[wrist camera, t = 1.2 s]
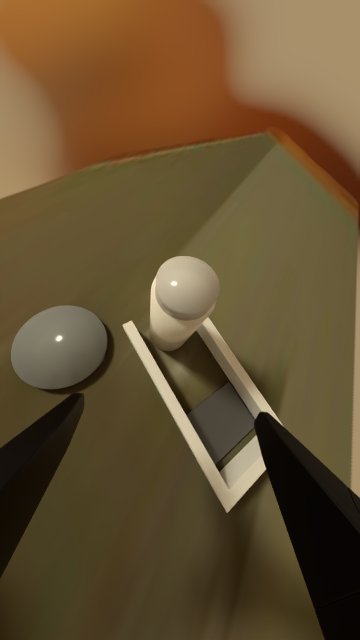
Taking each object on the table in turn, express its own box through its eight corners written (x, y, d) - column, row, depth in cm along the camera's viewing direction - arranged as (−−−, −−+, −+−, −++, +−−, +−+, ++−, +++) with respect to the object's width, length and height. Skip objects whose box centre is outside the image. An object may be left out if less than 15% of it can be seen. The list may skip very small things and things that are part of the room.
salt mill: (193, 339, 24) (237, 296, 12) (161, 358, 22) (177, 331, 10) (174, 310, 25) (197, 244, 13) (142, 326, 23) (137, 267, 11)
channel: (273, 432, 22) (292, 439, 19) (215, 493, 18) (227, 513, 16) (185, 301, 26) (190, 291, 23) (125, 332, 23) (122, 325, 20)
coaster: (121, 359, 21) (120, 358, 21) (35, 407, 18) (29, 409, 17) (88, 297, 24) (86, 293, 23) (5, 331, 20) (-2, 328, 19)
